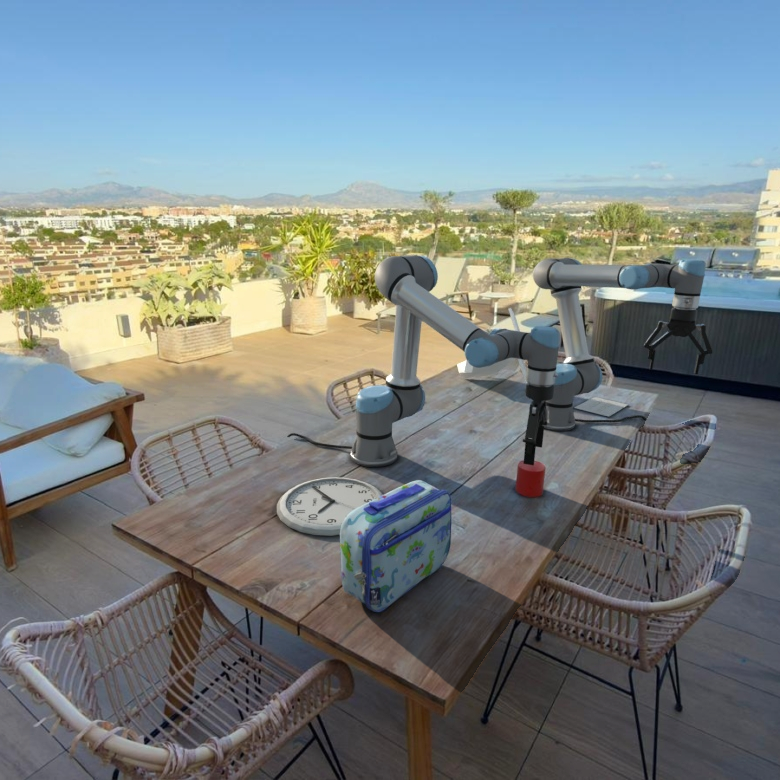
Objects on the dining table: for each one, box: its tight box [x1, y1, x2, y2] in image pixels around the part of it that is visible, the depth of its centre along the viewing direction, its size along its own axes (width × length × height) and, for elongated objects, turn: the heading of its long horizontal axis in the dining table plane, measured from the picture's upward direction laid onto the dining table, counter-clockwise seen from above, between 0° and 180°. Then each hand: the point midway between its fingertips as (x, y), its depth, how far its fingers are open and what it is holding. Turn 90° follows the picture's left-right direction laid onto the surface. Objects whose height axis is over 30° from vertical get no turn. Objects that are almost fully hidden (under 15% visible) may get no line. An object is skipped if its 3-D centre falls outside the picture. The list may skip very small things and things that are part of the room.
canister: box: [515, 459, 547, 498], centre depth 152 cm, size 8×8×8 cm
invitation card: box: [573, 396, 629, 418], centre depth 226 cm, size 21×1×15 cm
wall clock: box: [276, 476, 385, 537], centre depth 142 cm, size 30×2×30 cm
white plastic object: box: [456, 307, 528, 385], centre depth 256 cm, size 37×45×31 cm
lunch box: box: [339, 479, 452, 613], centre depth 109 cm, size 26×11×21 cm, turn 134°
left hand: (533, 455), depth 149 cm, fingers open, 13 cm apart
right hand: (673, 371), depth 177 cm, fingers open, 13 cm apart
